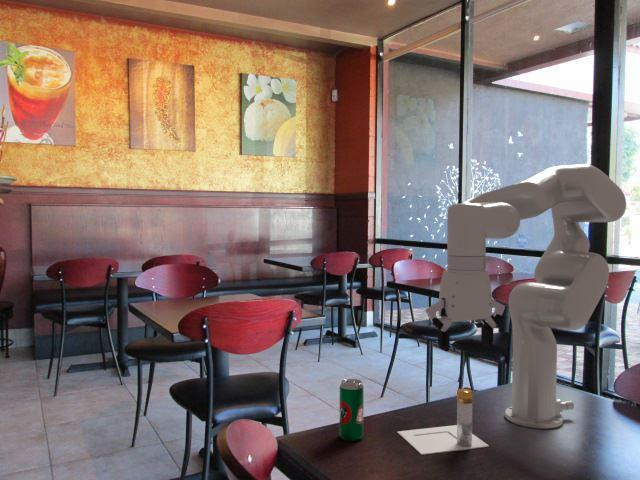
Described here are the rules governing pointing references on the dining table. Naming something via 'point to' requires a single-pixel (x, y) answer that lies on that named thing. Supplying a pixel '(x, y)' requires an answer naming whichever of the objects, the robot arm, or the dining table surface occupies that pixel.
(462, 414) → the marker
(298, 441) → the dining table surface
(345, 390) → the soda can
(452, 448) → the paper
